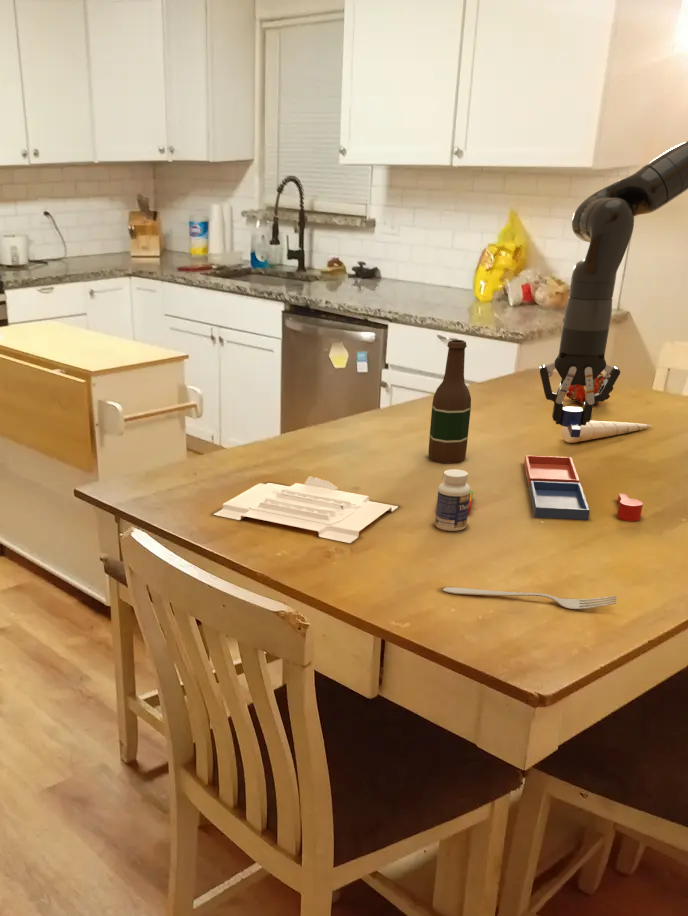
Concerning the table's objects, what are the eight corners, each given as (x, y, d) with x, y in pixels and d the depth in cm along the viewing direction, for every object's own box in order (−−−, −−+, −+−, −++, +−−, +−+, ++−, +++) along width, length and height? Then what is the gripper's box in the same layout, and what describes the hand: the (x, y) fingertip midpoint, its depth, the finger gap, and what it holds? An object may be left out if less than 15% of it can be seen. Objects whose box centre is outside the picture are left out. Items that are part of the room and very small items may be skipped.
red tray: (570, 466, 193) (571, 457, 192) (578, 489, 180) (579, 480, 179) (524, 464, 195) (525, 455, 194) (528, 487, 182) (529, 478, 181)
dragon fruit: (612, 413, 231) (561, 414, 238) (618, 386, 235) (567, 388, 241) (609, 389, 225) (556, 391, 231) (615, 362, 228) (563, 365, 234)
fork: (444, 585, 145) (445, 575, 144) (614, 605, 137) (616, 594, 136) (441, 594, 142) (442, 583, 141) (615, 615, 135) (617, 604, 134)
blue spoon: (558, 421, 173) (560, 405, 172) (580, 421, 172) (582, 406, 171) (563, 437, 164) (566, 421, 163) (586, 437, 163) (589, 421, 162)
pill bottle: (461, 534, 163) (467, 479, 158) (430, 529, 165) (435, 475, 160) (470, 523, 167) (476, 470, 162) (440, 518, 169) (445, 466, 165)
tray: (351, 543, 160) (351, 522, 159) (212, 520, 175) (211, 500, 173) (399, 506, 175) (399, 487, 174) (268, 487, 190) (267, 469, 188)
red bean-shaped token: (641, 521, 165) (644, 506, 164) (618, 520, 166) (621, 505, 165) (632, 501, 174) (635, 487, 173) (610, 500, 175) (613, 486, 173)
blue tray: (579, 492, 179) (580, 482, 178) (588, 520, 167) (589, 510, 166) (529, 490, 181) (530, 480, 180) (534, 517, 168) (536, 507, 168)
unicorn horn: (662, 432, 211) (666, 411, 209) (572, 446, 204) (576, 424, 202) (647, 427, 215) (651, 406, 213) (558, 440, 208) (562, 418, 206)
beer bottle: (463, 465, 195) (475, 345, 184) (424, 462, 198) (434, 344, 186) (467, 454, 201) (479, 337, 190) (430, 451, 204) (440, 336, 193)
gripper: (544, 328, 161) (530, 428, 169) (633, 329, 158) (615, 431, 166) (541, 320, 167) (528, 416, 175) (626, 321, 164) (609, 419, 172)
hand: (570, 423), depth 171 cm, fingers closed on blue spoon, 3 cm apart
